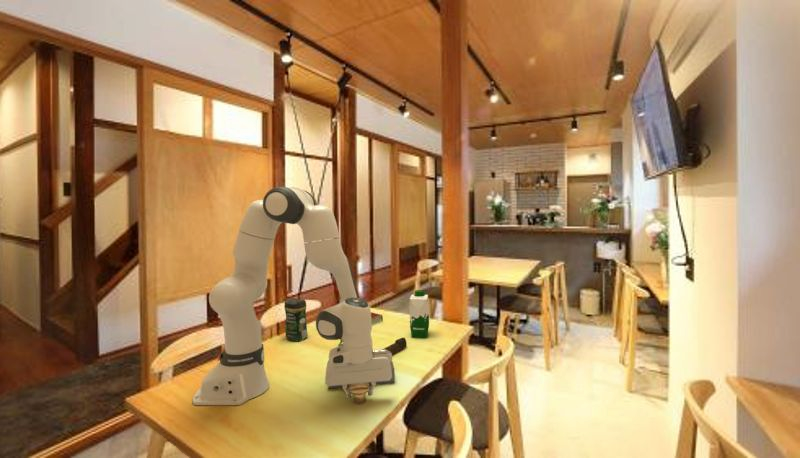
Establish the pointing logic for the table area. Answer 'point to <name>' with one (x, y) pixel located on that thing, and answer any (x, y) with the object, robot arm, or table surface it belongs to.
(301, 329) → the coffee jar
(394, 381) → the block
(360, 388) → the tan dome cap
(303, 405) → the table surface
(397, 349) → the hand tool
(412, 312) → the milk carton
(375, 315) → the hardcover book
